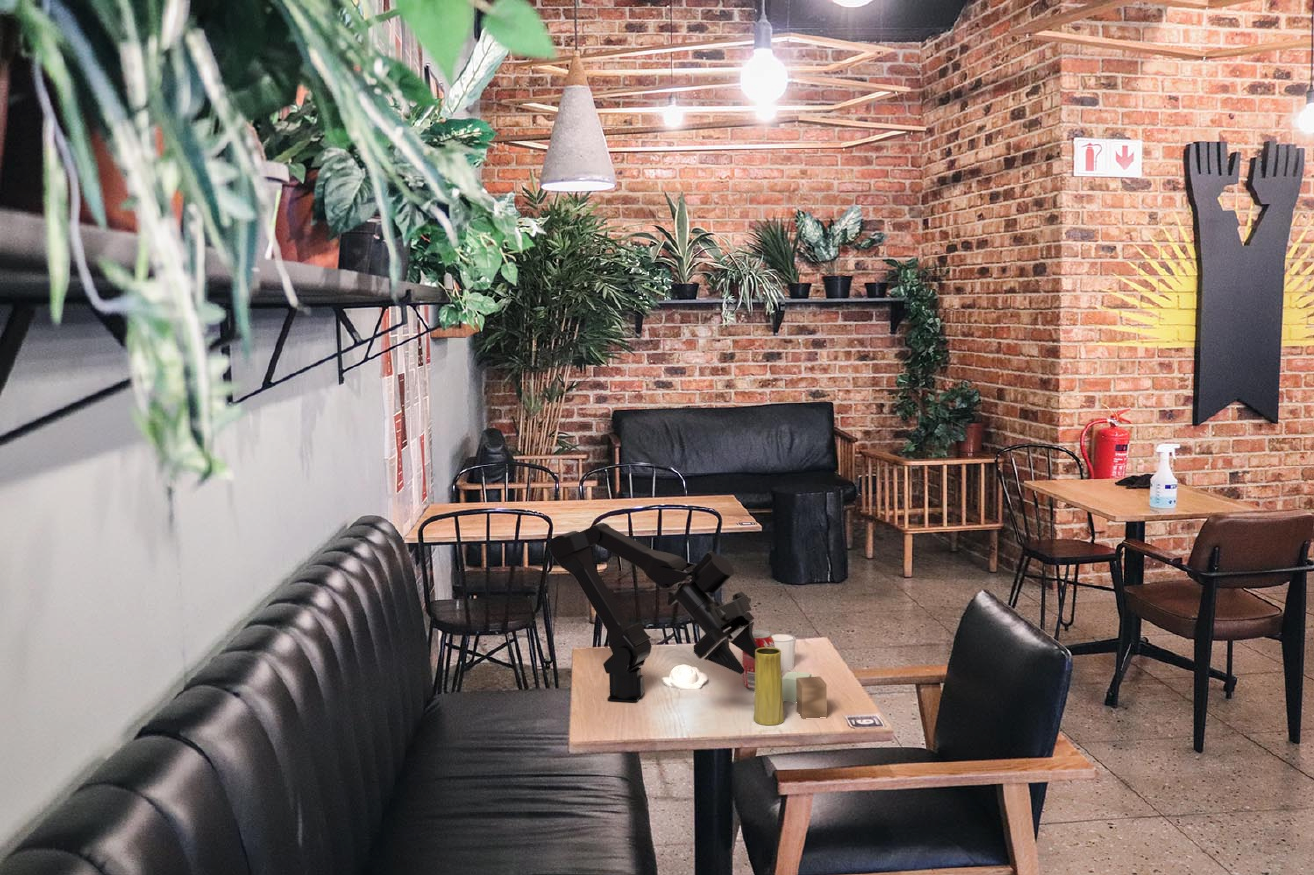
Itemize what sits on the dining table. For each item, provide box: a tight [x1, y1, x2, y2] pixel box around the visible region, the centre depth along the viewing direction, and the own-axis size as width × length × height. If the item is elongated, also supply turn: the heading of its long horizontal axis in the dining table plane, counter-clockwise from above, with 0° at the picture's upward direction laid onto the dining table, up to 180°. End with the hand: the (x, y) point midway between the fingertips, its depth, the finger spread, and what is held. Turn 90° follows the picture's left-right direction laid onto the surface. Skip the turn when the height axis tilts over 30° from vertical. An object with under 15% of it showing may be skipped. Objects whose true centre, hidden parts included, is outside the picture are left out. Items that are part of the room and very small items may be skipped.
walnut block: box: [796, 676, 828, 720], centre depth 217 cm, size 5×5×7 cm
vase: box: [753, 647, 785, 726], centre depth 214 cm, size 6×6×14 cm
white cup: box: [771, 633, 797, 672], centre depth 248 cm, size 7×7×7 cm
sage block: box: [782, 670, 812, 704], centre depth 227 cm, size 5×5×5 cm
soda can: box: [741, 629, 775, 691], centre depth 234 cm, size 7×7×12 cm
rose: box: [661, 664, 709, 691], centre depth 238 cm, size 10×4×10 cm
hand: (752, 666), depth 215 cm, fingers open, 9 cm apart
